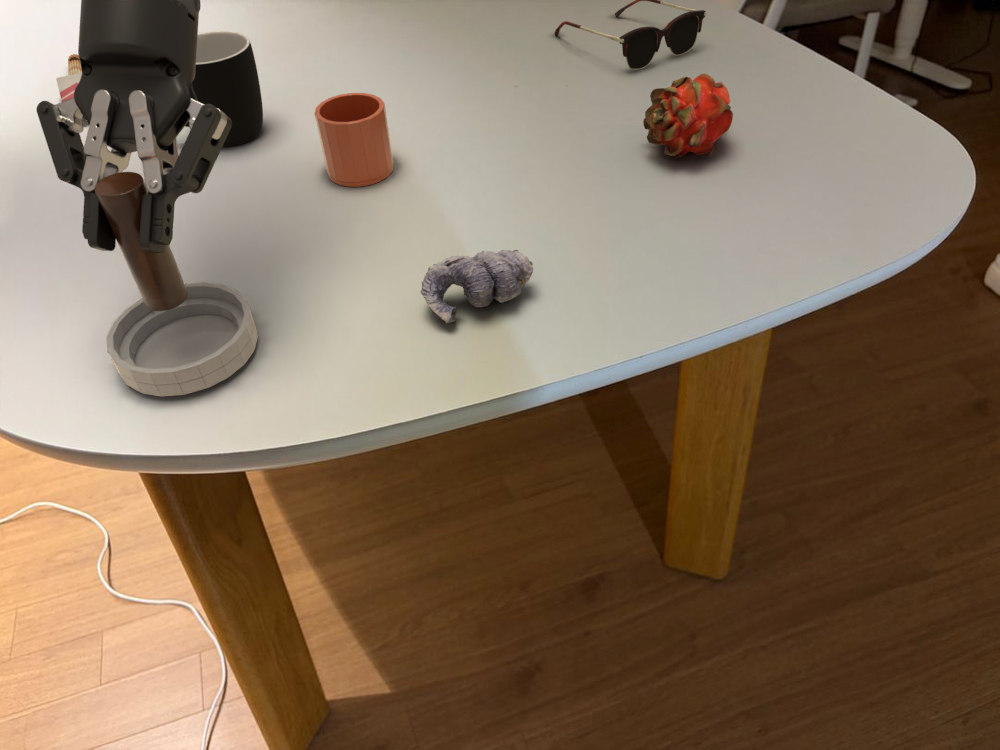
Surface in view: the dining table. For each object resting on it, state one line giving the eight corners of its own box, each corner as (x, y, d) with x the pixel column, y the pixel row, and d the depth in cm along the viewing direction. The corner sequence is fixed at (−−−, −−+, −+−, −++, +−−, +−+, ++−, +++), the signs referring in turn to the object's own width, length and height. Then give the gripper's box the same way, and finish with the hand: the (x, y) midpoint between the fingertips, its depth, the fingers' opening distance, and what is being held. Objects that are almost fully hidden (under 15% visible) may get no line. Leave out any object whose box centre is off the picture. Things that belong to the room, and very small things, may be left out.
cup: (325, 189, 83) (310, 126, 78) (331, 155, 88) (318, 94, 84) (392, 184, 83) (382, 121, 78) (394, 151, 88) (385, 90, 84)
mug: (267, 110, 97) (244, 25, 90) (278, 142, 91) (255, 54, 84) (165, 130, 95) (134, 44, 88) (170, 165, 89) (136, 75, 82)
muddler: (140, 312, 61) (87, 197, 54) (151, 286, 63) (102, 172, 56) (182, 309, 61) (135, 194, 54) (192, 284, 63) (148, 170, 56)
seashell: (431, 335, 68) (533, 298, 71) (445, 318, 62) (554, 279, 66) (407, 278, 68) (509, 244, 71) (418, 256, 63) (528, 220, 66)
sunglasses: (621, 76, 99) (622, 35, 96) (546, 45, 110) (544, 7, 107) (703, 48, 104) (707, 7, 101) (624, 20, 115) (624, -17, 112)
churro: (54, 105, 94) (57, 52, 108) (64, 127, 96) (65, 73, 110) (89, 98, 95) (87, 47, 109) (98, 120, 96) (95, 67, 111)
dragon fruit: (647, 186, 84) (697, 153, 91) (717, 157, 77) (765, 125, 85) (614, 109, 82) (668, 82, 90) (683, 73, 76) (735, 48, 83)
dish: (103, 405, 62) (87, 377, 59) (141, 315, 69) (129, 287, 67) (246, 395, 62) (235, 367, 60) (268, 305, 70) (259, 278, 67)
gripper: (10, -21, 53) (-6, 236, 53) (212, -22, 52) (196, 244, 52) (81, 29, 61) (67, 255, 61) (259, 30, 59) (245, 262, 59)
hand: (127, 249), depth 56 cm, fingers closed on muddler, 3 cm apart
